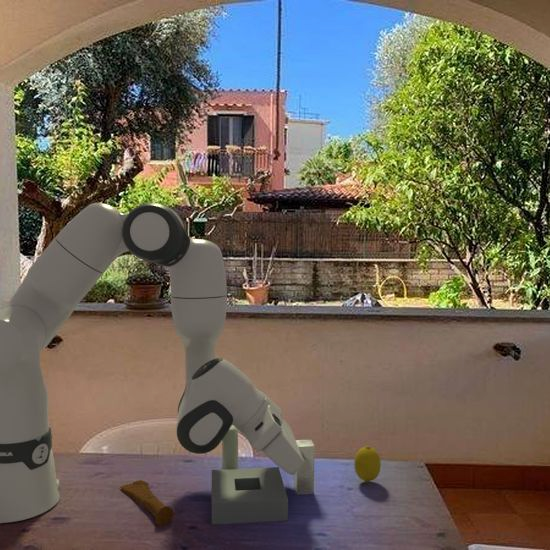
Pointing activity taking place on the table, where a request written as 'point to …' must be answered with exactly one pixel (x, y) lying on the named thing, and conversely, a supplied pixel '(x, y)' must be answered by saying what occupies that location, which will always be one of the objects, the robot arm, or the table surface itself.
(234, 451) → the round bit
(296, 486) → the square bit
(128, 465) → the table surface
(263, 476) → the socket block
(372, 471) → the lemon
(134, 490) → the primitive tool
